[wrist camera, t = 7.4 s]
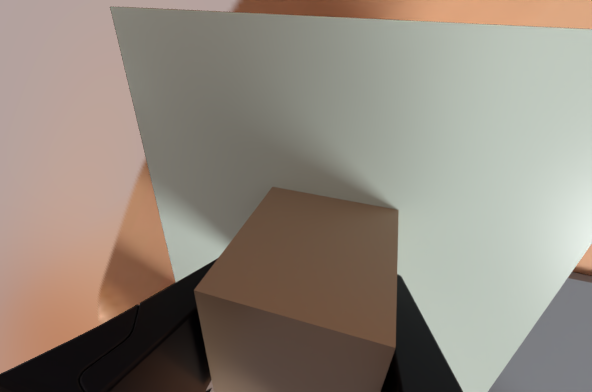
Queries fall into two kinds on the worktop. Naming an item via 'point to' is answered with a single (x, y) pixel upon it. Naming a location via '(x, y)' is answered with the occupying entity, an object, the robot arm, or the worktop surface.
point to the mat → (555, 345)
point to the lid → (362, 184)
